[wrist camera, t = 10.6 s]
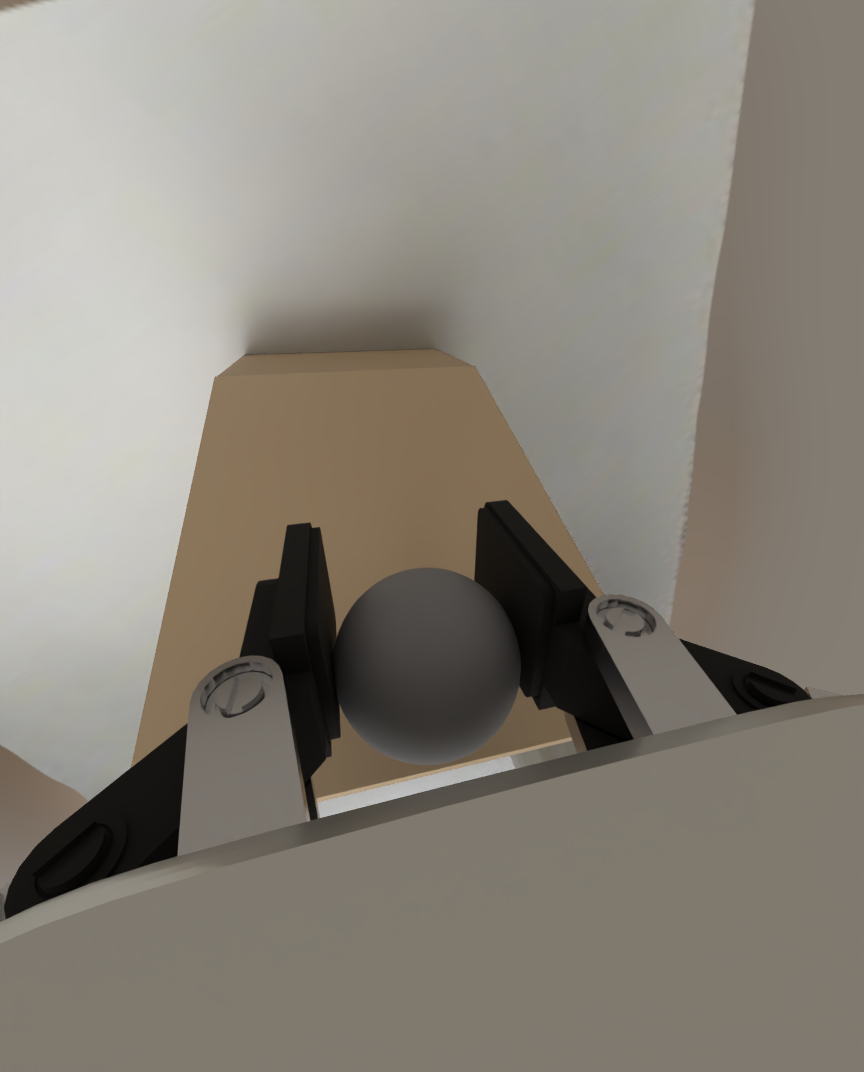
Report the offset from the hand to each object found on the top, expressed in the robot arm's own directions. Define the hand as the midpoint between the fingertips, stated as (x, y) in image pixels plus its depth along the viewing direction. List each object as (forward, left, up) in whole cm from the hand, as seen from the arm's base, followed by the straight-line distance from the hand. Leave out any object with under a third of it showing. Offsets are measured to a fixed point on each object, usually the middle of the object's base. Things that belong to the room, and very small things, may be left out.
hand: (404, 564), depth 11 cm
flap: (0, +2, -7) cm, 7 cm away
